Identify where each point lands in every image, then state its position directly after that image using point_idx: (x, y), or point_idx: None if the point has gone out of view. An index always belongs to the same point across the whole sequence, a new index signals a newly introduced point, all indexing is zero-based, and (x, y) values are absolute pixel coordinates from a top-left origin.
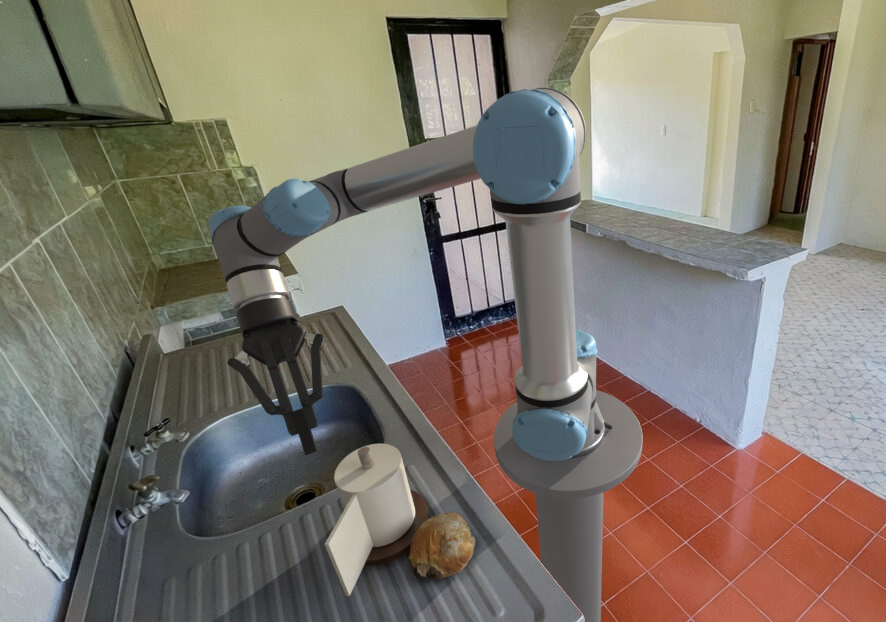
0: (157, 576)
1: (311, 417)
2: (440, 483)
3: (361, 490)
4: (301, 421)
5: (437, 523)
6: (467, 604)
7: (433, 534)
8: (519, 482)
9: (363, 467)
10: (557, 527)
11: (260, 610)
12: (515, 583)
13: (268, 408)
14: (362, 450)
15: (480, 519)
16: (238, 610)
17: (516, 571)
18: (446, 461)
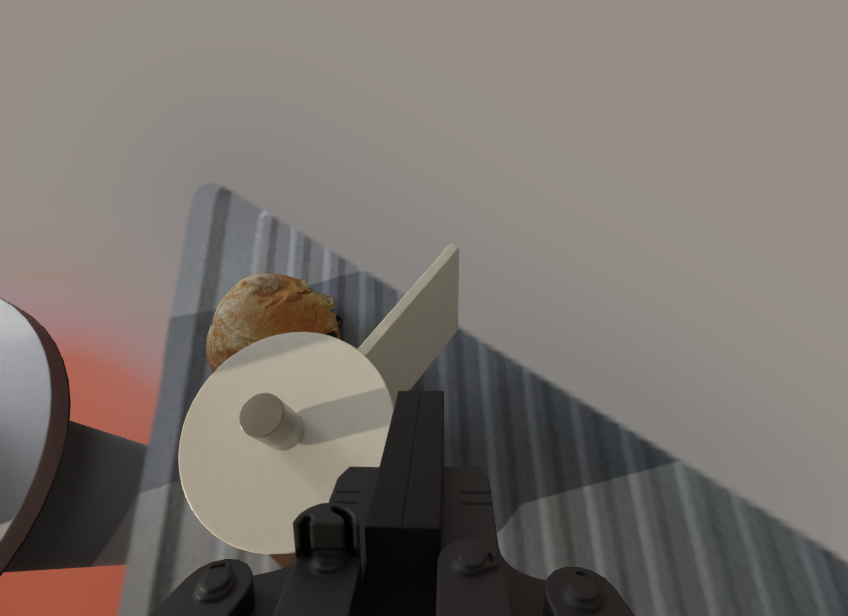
0: None
1: (349, 502)
2: (190, 528)
3: (338, 344)
4: (405, 475)
5: (250, 320)
6: (298, 245)
7: (270, 304)
8: (61, 401)
9: (299, 417)
10: (116, 452)
11: (610, 424)
12: (223, 236)
13: (597, 601)
14: (263, 419)
15: (187, 371)
16: (653, 450)
17: (209, 250)
18: (130, 604)
